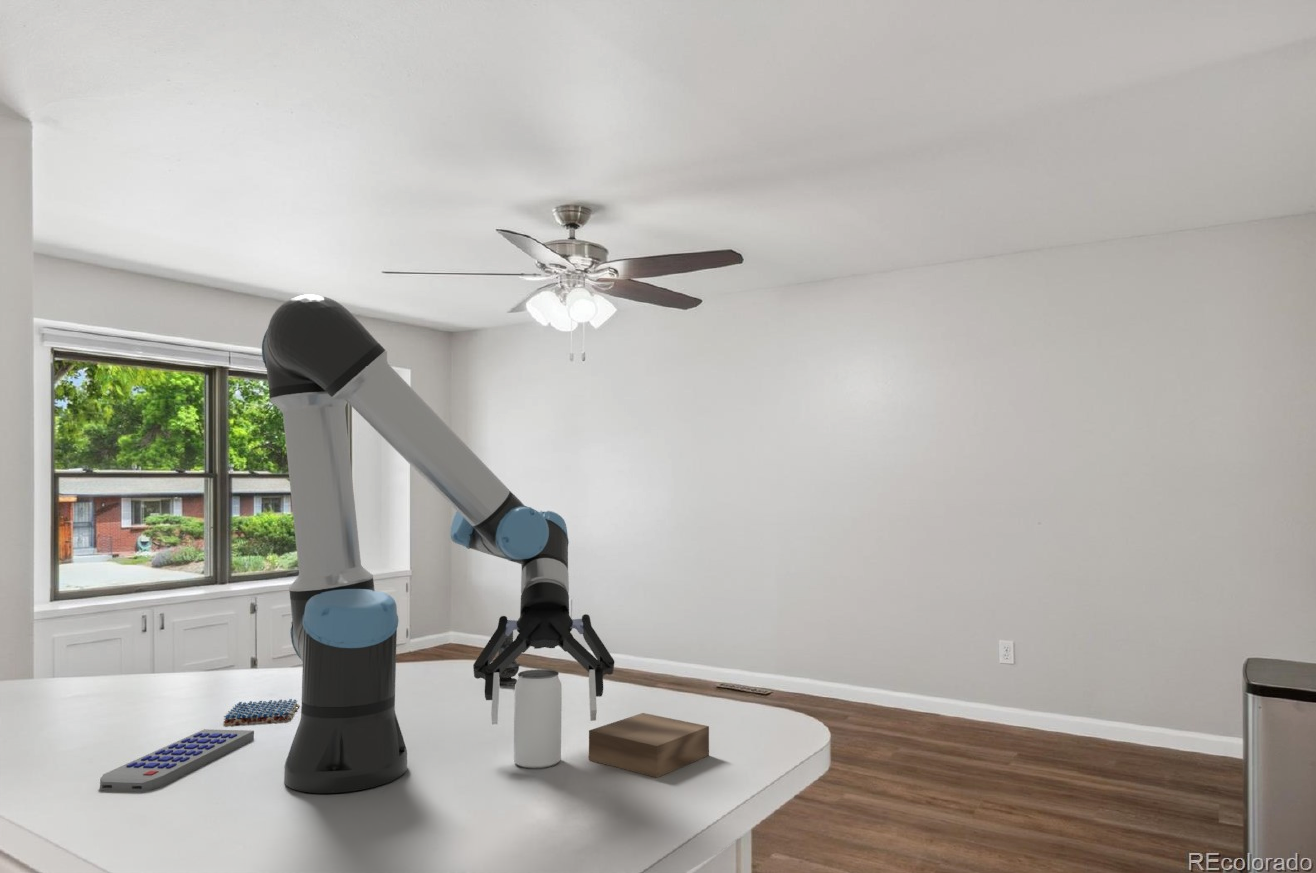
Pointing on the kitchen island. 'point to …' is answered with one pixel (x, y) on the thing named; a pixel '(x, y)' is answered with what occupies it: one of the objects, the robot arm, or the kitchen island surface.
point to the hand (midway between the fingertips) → (544, 717)
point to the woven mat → (261, 712)
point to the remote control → (174, 760)
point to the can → (537, 719)
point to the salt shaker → (511, 669)
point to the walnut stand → (649, 744)
